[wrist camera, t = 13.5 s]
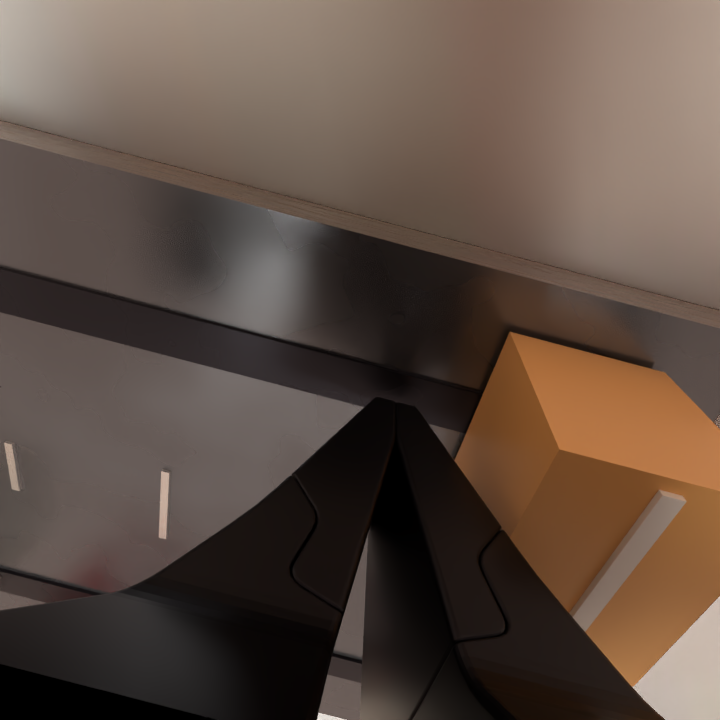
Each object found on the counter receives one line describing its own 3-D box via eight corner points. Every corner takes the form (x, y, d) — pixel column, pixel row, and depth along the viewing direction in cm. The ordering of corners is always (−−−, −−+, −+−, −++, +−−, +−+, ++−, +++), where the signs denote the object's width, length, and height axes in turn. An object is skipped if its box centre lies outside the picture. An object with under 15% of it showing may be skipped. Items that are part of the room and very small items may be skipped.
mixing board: (724, 311, 10) (776, 344, 8) (467, 703, 17) (471, 754, 16) (-309, 38, 10) (-435, 25, 8) (-115, 553, 17) (-163, 593, 16)
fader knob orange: (665, 372, 9) (805, 517, 6) (570, 521, 11) (635, 693, 7) (509, 331, 9) (561, 454, 6) (442, 488, 11) (452, 646, 7)
